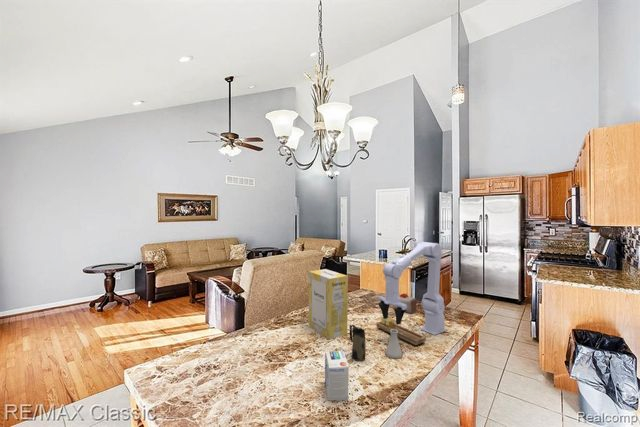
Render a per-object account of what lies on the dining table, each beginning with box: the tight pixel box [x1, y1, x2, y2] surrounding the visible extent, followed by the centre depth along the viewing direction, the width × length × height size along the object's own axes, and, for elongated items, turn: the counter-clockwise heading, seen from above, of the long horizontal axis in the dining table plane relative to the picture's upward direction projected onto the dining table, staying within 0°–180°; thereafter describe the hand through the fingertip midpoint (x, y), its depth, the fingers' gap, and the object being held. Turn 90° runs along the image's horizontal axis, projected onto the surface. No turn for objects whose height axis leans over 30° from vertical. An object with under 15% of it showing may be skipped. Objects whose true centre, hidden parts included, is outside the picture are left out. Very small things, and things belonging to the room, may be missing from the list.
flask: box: [384, 329, 404, 360], centre depth 120 cm, size 7×7×10 cm
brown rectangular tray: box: [375, 321, 427, 346], centre depth 138 cm, size 8×24×3 cm, turn 33°
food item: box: [392, 293, 417, 315], centre depth 173 cm, size 14×8×10 cm, turn 43°
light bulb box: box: [324, 350, 350, 401], centre depth 97 cm, size 11×7×11 cm, turn 5°
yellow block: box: [380, 316, 396, 328], centre depth 145 cm, size 4×5×4 cm
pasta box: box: [308, 268, 349, 340], centre depth 145 cm, size 18×10×28 cm, turn 34°
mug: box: [348, 324, 367, 362], centre depth 119 cm, size 8×6×12 cm
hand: (391, 321), depth 130 cm, fingers open, 7 cm apart
